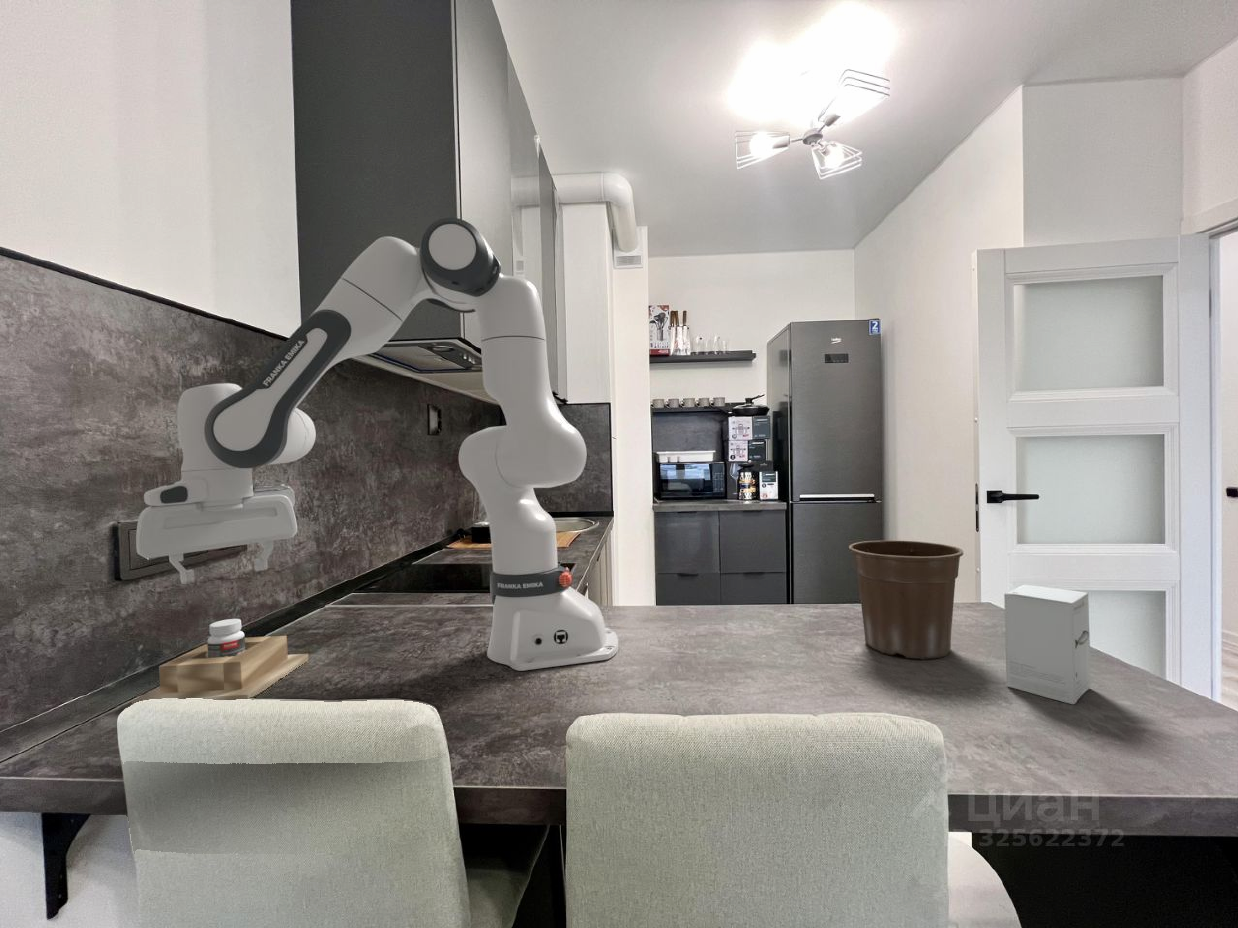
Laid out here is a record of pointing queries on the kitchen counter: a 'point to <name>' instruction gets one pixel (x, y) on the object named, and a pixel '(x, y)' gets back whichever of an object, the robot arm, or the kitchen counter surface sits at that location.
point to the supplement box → (1048, 642)
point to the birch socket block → (226, 671)
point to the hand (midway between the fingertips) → (226, 575)
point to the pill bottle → (225, 639)
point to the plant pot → (907, 595)
